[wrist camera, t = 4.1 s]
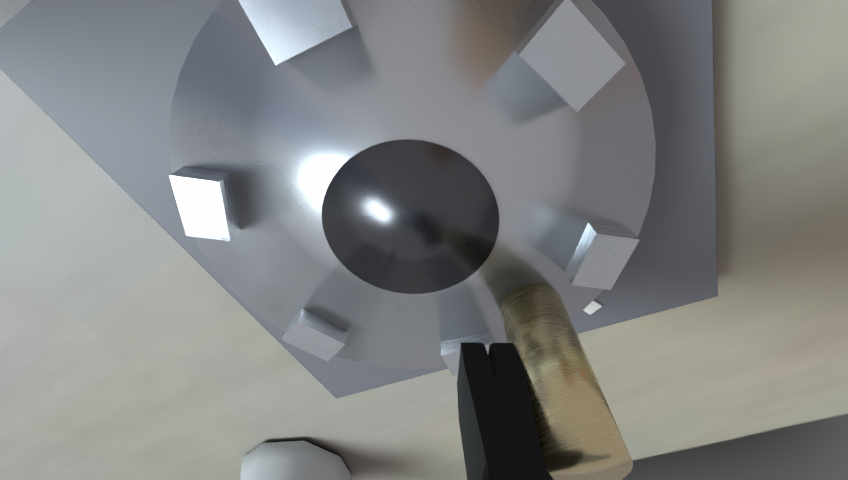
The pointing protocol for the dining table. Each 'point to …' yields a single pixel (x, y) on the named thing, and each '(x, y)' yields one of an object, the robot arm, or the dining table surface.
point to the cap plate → (186, 15)
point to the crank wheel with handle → (423, 185)
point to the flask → (292, 463)
